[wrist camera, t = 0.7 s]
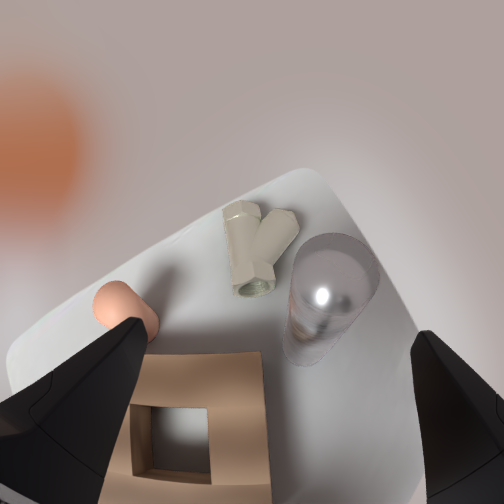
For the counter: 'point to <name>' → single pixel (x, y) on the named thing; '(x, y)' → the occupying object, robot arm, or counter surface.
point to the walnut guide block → (219, 432)
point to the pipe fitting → (256, 245)
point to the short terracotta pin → (123, 307)
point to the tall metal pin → (326, 294)
